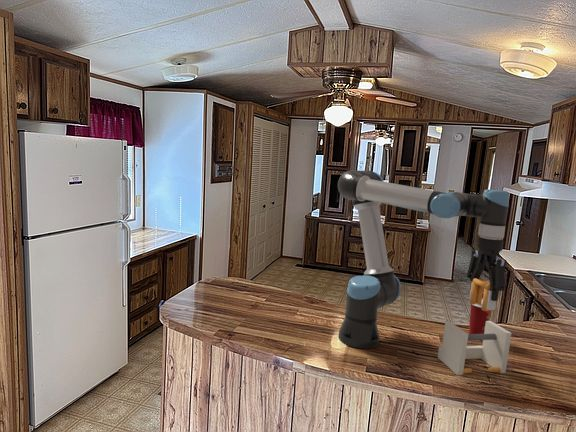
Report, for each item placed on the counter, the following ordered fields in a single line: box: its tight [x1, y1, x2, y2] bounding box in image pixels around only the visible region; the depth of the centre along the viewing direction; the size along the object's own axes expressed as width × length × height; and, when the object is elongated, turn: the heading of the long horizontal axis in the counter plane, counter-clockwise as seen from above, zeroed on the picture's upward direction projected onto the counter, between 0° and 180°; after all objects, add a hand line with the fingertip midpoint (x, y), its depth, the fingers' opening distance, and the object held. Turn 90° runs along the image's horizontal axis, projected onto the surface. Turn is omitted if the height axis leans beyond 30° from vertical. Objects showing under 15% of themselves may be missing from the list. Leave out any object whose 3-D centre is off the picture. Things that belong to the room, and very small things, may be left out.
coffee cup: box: [468, 298, 492, 334], centre depth 159 cm, size 8×8×15 cm
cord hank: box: [469, 277, 495, 312], centre depth 132 cm, size 8×4×9 cm, turn 12°
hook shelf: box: [437, 320, 512, 376], centre depth 135 cm, size 18×12×14 cm, turn 102°
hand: (481, 304), depth 132 cm, fingers closed on cord hank, 8 cm apart
